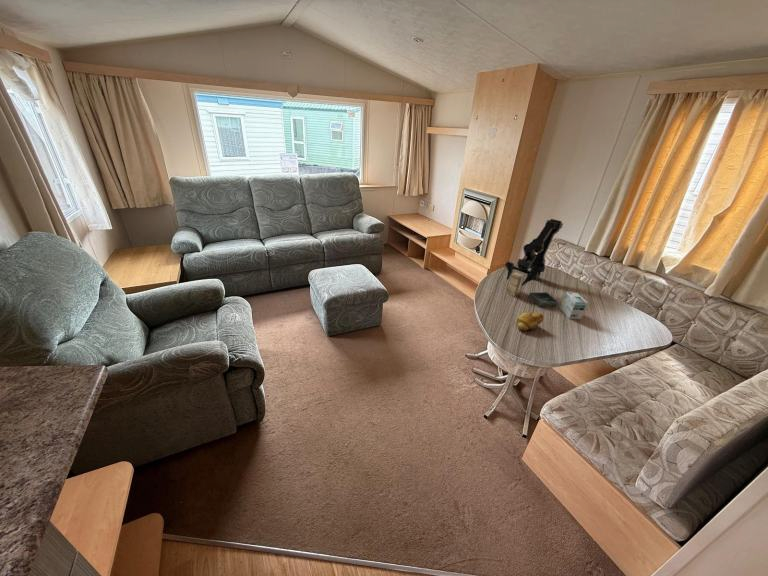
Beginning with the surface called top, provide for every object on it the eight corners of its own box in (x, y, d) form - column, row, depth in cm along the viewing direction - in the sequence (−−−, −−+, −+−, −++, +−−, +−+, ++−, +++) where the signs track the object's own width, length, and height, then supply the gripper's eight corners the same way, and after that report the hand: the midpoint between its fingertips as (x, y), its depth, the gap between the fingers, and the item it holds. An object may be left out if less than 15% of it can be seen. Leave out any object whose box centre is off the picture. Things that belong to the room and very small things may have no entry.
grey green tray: (528, 297, 182) (529, 292, 181) (545, 296, 184) (546, 292, 183) (539, 307, 173) (541, 302, 171) (556, 306, 174) (558, 302, 173)
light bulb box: (581, 320, 164) (588, 302, 159) (568, 319, 164) (575, 301, 159) (570, 309, 173) (577, 292, 168) (558, 308, 173) (565, 291, 168)
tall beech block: (509, 290, 187) (515, 272, 181) (516, 293, 185) (522, 275, 179) (506, 293, 185) (511, 274, 178) (513, 296, 182) (519, 277, 176)
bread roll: (524, 335, 149) (529, 321, 145) (508, 324, 156) (513, 311, 152) (541, 328, 155) (546, 315, 151) (525, 318, 162) (530, 305, 158)
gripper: (511, 248, 182) (497, 270, 180) (543, 259, 171) (529, 282, 169) (513, 258, 191) (500, 278, 189) (543, 268, 179) (530, 290, 178)
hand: (514, 282), depth 181 cm, fingers open, 9 cm apart
